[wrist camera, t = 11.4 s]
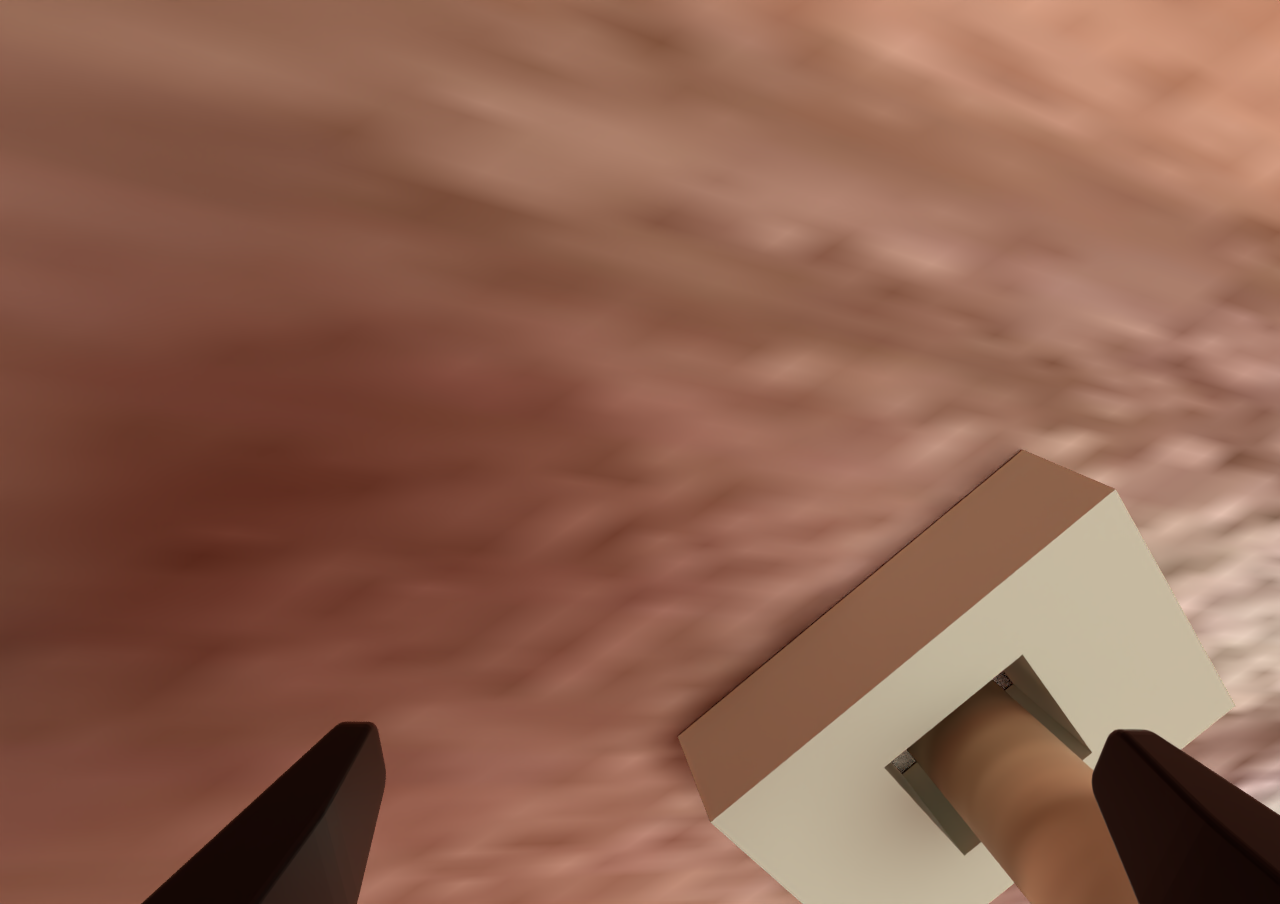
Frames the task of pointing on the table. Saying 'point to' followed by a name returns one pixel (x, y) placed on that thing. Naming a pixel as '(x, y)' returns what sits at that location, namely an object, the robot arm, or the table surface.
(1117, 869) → the peg
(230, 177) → the table surface
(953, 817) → the socket block
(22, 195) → the table surface
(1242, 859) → the robot arm
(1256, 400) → the table surface
